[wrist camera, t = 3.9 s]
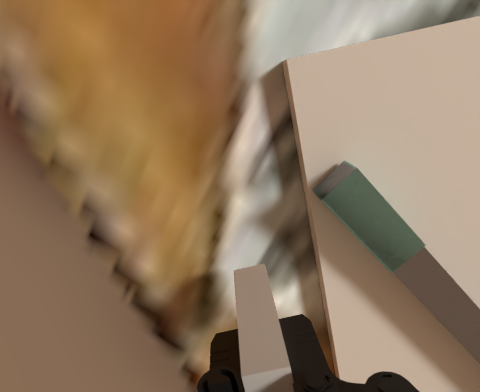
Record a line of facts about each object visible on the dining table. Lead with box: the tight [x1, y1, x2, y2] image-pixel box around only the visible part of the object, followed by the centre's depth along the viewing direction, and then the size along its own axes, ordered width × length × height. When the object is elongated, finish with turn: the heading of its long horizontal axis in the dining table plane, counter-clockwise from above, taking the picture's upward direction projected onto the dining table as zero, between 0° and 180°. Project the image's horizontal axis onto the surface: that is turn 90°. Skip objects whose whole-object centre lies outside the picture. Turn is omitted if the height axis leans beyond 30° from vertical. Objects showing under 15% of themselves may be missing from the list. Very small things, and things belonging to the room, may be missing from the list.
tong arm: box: [312, 160, 480, 364], centre depth 18 cm, size 18×2×2 cm, turn 44°
